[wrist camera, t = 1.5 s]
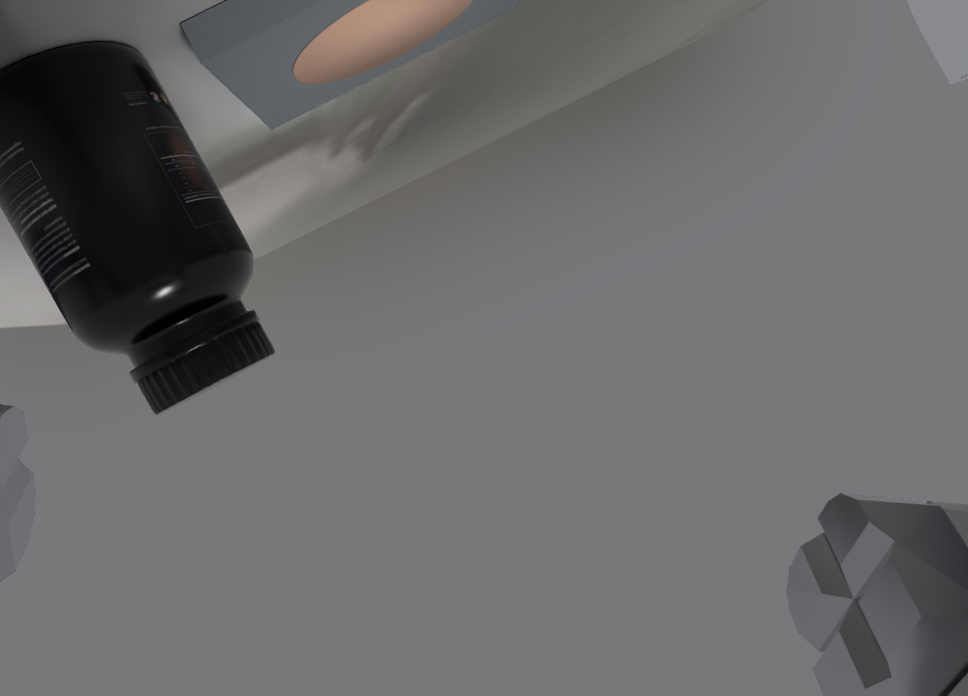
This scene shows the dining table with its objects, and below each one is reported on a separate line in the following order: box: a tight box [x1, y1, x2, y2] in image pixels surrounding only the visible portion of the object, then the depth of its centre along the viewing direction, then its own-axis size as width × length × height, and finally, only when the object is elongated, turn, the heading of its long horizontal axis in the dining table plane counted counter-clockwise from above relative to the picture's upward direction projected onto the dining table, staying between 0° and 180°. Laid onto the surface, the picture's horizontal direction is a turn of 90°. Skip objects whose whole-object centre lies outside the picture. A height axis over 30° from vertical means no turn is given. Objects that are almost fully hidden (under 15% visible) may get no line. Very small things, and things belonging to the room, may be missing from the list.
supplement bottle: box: [0, 42, 275, 414], centre depth 31 cm, size 7×7×12 cm
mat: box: [181, 0, 520, 129], centre depth 38 cm, size 14×13×2 cm
